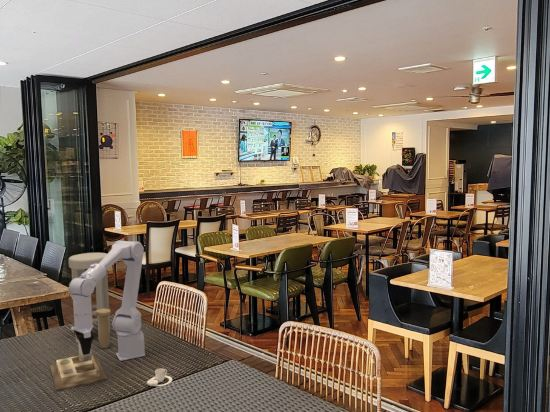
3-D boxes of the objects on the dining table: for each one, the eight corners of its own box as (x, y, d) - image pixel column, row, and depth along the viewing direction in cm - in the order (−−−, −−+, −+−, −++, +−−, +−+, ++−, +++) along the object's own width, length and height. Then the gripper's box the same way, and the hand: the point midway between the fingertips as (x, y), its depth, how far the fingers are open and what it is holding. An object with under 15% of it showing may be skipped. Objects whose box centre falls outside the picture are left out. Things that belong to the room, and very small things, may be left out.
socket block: (96, 357, 185) (95, 349, 184) (107, 379, 166) (106, 370, 165) (49, 366, 177) (49, 358, 177) (56, 391, 158) (55, 381, 158)
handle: (104, 350, 191) (102, 313, 190) (95, 347, 195) (93, 310, 194) (115, 346, 195) (113, 310, 194) (105, 343, 199) (103, 307, 197)
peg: (90, 356, 169) (89, 336, 168) (92, 360, 165) (91, 340, 165) (78, 358, 167) (77, 338, 166) (80, 362, 163) (79, 342, 163)
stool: (80, 331, 214) (75, 253, 211) (116, 329, 216) (112, 251, 212) (69, 344, 199) (63, 260, 195) (108, 342, 200) (103, 258, 197)
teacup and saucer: (148, 390, 158) (148, 378, 158) (143, 380, 165) (142, 369, 165) (175, 384, 162) (174, 372, 162) (168, 375, 169) (168, 363, 169)
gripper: (67, 309, 169) (69, 347, 170) (73, 321, 156) (75, 361, 158) (88, 306, 172) (91, 343, 174) (96, 317, 160) (98, 357, 161)
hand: (85, 351), depth 166 cm, fingers closed on peg, 4 cm apart
